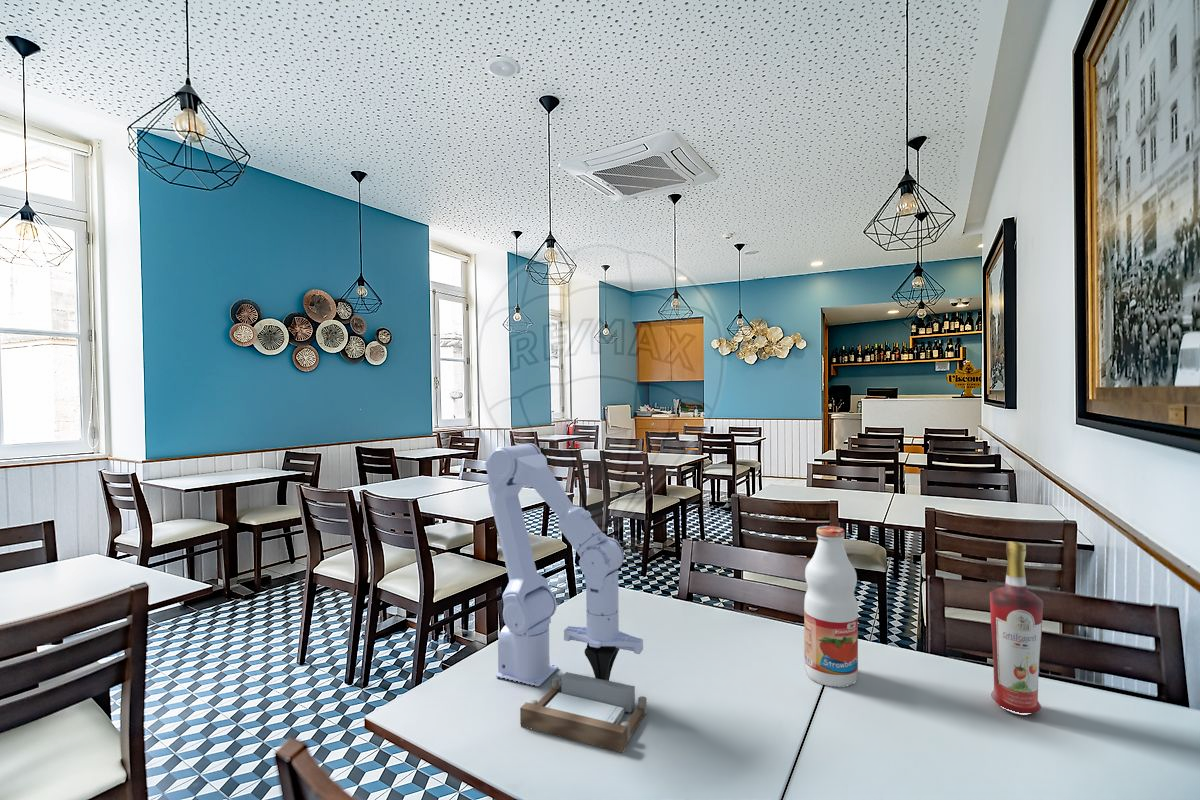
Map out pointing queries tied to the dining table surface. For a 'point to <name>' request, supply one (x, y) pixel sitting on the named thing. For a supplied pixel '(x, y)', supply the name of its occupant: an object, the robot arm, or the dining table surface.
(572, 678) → the grey rectangular beam
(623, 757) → the dining table surface
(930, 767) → the dining table surface
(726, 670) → the dining table surface
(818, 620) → the fruit juice
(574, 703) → the hard drive
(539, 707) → the dock
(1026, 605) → the liquor
